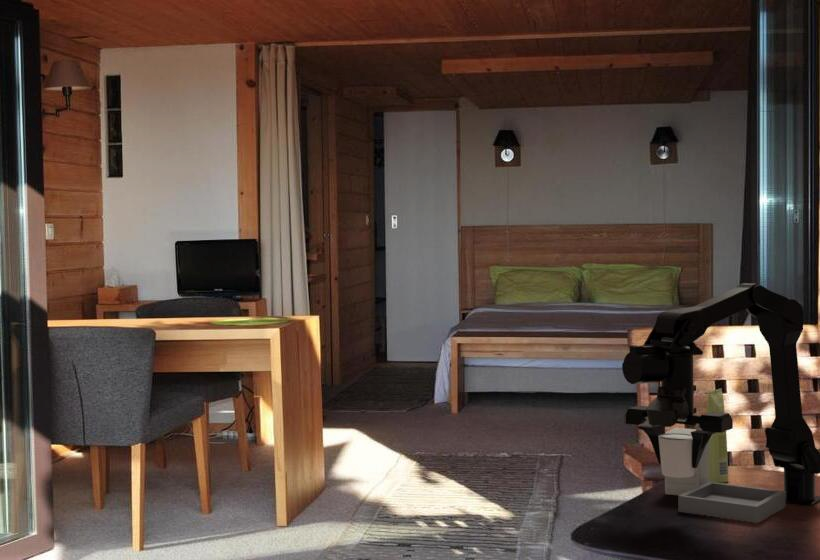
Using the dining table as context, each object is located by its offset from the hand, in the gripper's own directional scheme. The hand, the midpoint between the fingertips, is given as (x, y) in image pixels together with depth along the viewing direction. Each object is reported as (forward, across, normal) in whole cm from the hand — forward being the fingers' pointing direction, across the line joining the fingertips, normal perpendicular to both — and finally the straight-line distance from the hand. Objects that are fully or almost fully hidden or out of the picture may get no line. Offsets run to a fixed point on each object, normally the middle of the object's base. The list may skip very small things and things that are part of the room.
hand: (677, 465), depth 193 cm
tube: (+10, -7, +35) cm, 37 cm away
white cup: (+2, 0, 0) cm, 2 cm away
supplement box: (+10, -8, +21) cm, 25 cm away
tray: (+10, +5, +13) cm, 17 cm away
